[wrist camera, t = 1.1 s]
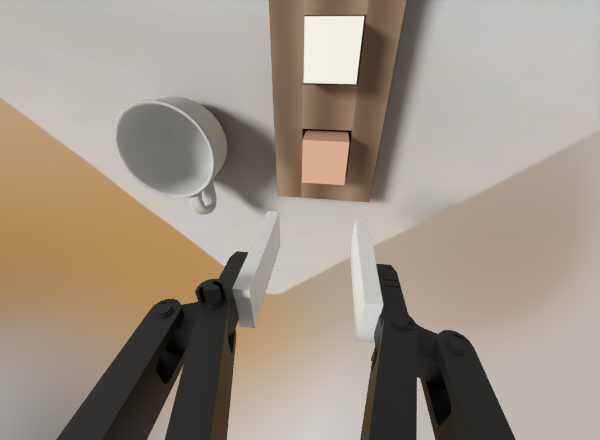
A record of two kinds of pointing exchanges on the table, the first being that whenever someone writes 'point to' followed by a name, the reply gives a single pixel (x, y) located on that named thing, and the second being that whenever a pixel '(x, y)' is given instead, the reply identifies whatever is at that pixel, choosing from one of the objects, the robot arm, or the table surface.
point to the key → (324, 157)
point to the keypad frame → (331, 93)
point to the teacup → (172, 148)
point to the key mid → (332, 49)
